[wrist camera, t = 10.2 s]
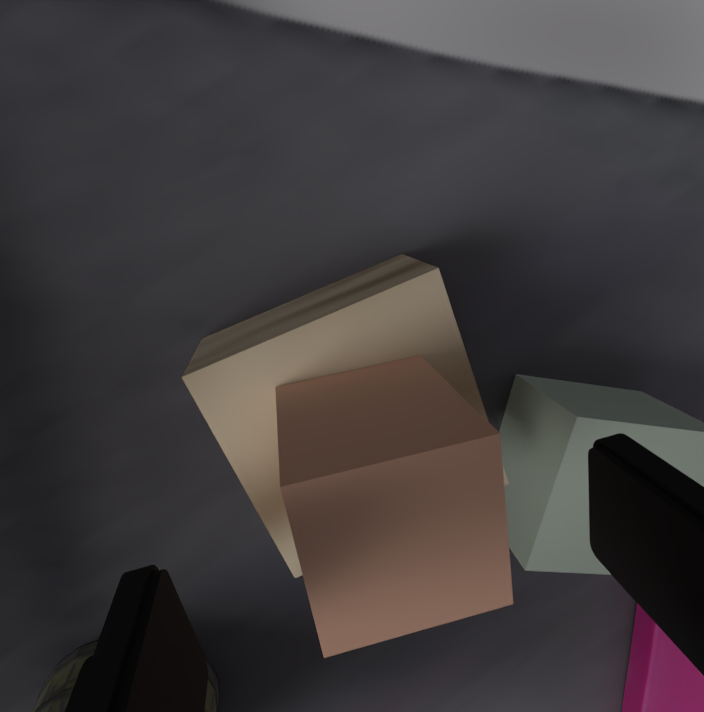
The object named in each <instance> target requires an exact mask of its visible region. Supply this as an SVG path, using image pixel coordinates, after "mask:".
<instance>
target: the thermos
mask: <svg viewBox="0 0 704 712" xmlns="http://www.w3.org/2000/svg"><path fill="white" fill-rule="evenodd" d="M98 641H99V640H98ZM98 641H95V642H92V643H90V644H87V645H84V646H82V647H80V648H78V649H77V650H75V651H74V652H73V653H71V654H70V655H68V656H67V657H66V658H64V659H63V660H62V661H60V662H59V663H58V664H57V665H56V667H55V668H54V670H53V671H52V673H51V674H50V675H49V677H48V678H47V680H46V681H45V683H44V685H43V687H42V689H41V691H40V693H39V697H38V701H37V703H36V705H35V708H34V710H33V712H65V709H66V706H67V704H68V701H69V698H70V696H71V693H72V690H73V688H74V685H75V682H76V680H77V677H78V674H79V672H80V669H81V667H82V665H83V663H84V661H85V660H86V659H87V658H88V657H89V656H92V655H93V654H94V652H95V649H96V646H97V643H98ZM206 662H207V668H208V684H207V693H206V703H205V712H217V711H218V706H219V689H218V679H217V677H216V675H215V673H214V672H213V670H212V668H211V666H210V665H209V663H208V661H207V660H206Z"/></svg>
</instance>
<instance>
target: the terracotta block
mask: <svg viewBox="0 0 704 712" xmlns="http://www.w3.org/2000/svg"><path fill="white" fill-rule="evenodd" d="M275 391H276V412H277V432H278V453H279V474H280V489H281V493H282V496H283V500H284V504H285V508H286V512H287V516H288V520H289V524H290V528H291V532H292V536H293V539H294V543H295V547H296V551H297V555H298V559H299V563H300V567H301V571H302V575H303V579H304V582H305V586H306V590H307V594H308V598H309V602H310V606H311V610H312V614H313V618H314V622H315V625H316V629H317V633H318V637H319V641H320V645H321V649H322V653H323V657H324V658H326V657H329V656H333V655H337V654H340V653H344V652H347V651H351V650H354V649H358V648H361V647H365V646H368V645H372V644H375V643H379V642H382V641H386V640H389V639H393V638H396V637H400V636H403V635H407V634H410V633H414V632H417V631H421V630H424V629H428V628H431V627H435V626H438V625H442V624H445V623H449V622H452V621H456V620H459V619H463V618H466V617H470V616H473V615H477V614H480V613H484V612H488V611H491V610H495V609H498V608H502V607H505V606H509V605H512V604H513V592H512V579H511V566H510V553H509V541H508V528H507V515H506V502H505V489H504V476H503V463H502V450H501V438H500V433H499V432H498V431H497V430H496V429H495V428H494V427H493V426H492V425H491V424H490V423H489V422H488V421H487V420H486V419H485V418H484V417H483V416H482V415H481V414H480V413H479V412H478V411H477V410H476V409H475V408H474V407H473V406H471V405H470V404H469V403H468V402H467V401H466V400H465V399H464V398H463V397H462V396H461V395H460V394H459V393H458V392H457V391H456V390H455V389H454V388H453V387H452V386H451V385H450V384H449V383H448V382H447V381H446V380H445V379H444V378H443V377H442V376H441V375H440V374H439V373H438V372H437V371H436V370H435V369H434V368H433V367H432V366H431V365H430V364H429V363H427V362H426V361H425V360H424V359H423V358H422V357H421V356H420V355H418V356H414V357H409V358H404V359H400V360H395V361H391V362H386V363H382V364H377V365H373V366H368V367H364V368H359V369H355V370H350V371H346V372H341V373H337V374H332V375H328V376H323V377H319V378H314V379H309V380H305V381H300V382H296V383H291V384H287V385H282V386H278V387H275Z"/></svg>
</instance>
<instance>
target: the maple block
mask: <svg viewBox="0 0 704 712" xmlns="http://www.w3.org/2000/svg"><path fill="white" fill-rule="evenodd" d="M418 355H420V356H421V357H422V358H423V359H424V360H425V361H426V362H427V363H429V364H430V365H431V366H432V367H433V368H434V369H435V370H436V371H437V372H438V373H439V374H440V375H441V376H442V377H443V378H444V379H445V380H446V381H447V382H448V383H449V384H450V385H451V386H452V387H453V388H454V389H455V390H456V391H457V392H458V393H459V394H460V395H461V396H462V397H463V398H464V399H465V400H466V401H467V402H468V403H469V404H470V405H471V406H473V407H474V408H475V409H476V410H477V411H478V412H479V413H480V414H481V415H482V416H483V417H484V418H485V419H486V420H487V421H488V418H487V415H486V412H485V409H484V406H483V403H482V400H481V396H480V393H479V390H478V387H477V384H476V381H475V378H474V375H473V372H472V369H471V366H470V363H469V360H468V357H467V353H466V350H465V347H464V344H463V341H462V338H461V335H460V332H459V329H458V326H457V323H456V320H455V317H454V314H453V310H452V307H451V304H450V301H449V298H448V295H447V292H446V289H445V286H444V283H443V280H442V277H441V274H440V271H439V268H438V267H435V266H433V265H430V264H427V263H425V262H422V261H419V260H417V259H414V258H412V257H409V256H406V255H404V254H400V255H398V256H395V257H393V258H391V259H388V260H386V261H384V262H381V263H379V264H377V265H374V266H372V267H369V268H367V269H365V270H362V271H360V272H358V273H355V274H353V275H351V276H348V277H346V278H344V279H341V280H339V281H336V282H334V283H332V284H329V285H327V286H325V287H322V288H320V289H318V290H315V291H313V292H311V293H308V294H306V295H303V296H301V297H299V298H296V299H294V300H292V301H289V302H287V303H285V304H282V305H280V306H278V307H275V308H273V309H270V310H268V311H266V312H263V313H261V314H259V315H256V316H254V317H252V318H249V319H247V320H245V321H242V322H240V323H237V324H235V325H233V326H230V327H228V328H226V329H223V330H221V331H219V332H216V333H214V334H212V335H209V336H207V337H205V338H202V340H201V342H200V343H199V345H198V347H197V349H196V351H195V353H194V355H193V357H192V359H191V360H190V362H189V364H188V366H187V368H186V370H185V372H184V374H183V376H182V379H183V381H184V382H185V384H186V386H187V388H188V390H189V391H190V393H191V395H192V397H193V398H194V400H195V402H196V404H197V406H198V407H199V409H200V411H201V413H202V414H203V416H204V418H205V420H206V421H207V423H208V425H209V427H210V429H211V430H212V432H213V434H214V436H215V437H216V439H217V441H218V443H219V445H220V446H221V448H222V450H223V452H224V453H225V455H226V457H227V459H228V461H229V462H230V464H231V466H232V468H233V469H234V471H235V473H236V475H237V476H238V478H239V480H240V482H241V484H242V485H243V487H244V489H245V491H246V492H247V494H248V496H249V498H250V500H251V501H252V503H253V505H254V507H255V508H256V510H257V512H258V514H259V516H260V517H261V519H262V521H263V523H264V524H265V526H266V528H267V530H268V531H269V533H270V535H271V537H272V539H273V540H274V542H275V544H276V546H277V547H278V549H279V551H280V553H281V555H282V556H283V558H284V560H285V562H286V563H287V565H288V567H289V569H290V571H291V572H292V574H293V576H294V578H297V577H299V576H301V575H302V571H301V567H300V563H299V559H298V555H297V551H296V547H295V543H294V539H293V536H292V532H291V528H290V524H289V520H288V516H287V512H286V508H285V504H284V500H283V496H282V493H281V489H280V474H279V453H278V432H277V412H276V391H275V387H278V386H282V385H287V384H291V383H296V382H300V381H305V380H309V379H314V378H319V377H323V376H328V375H332V374H337V373H341V372H346V371H350V370H355V369H359V368H364V367H368V366H373V365H377V364H382V363H386V362H391V361H395V360H400V359H404V358H409V357H414V356H418ZM488 422H489V421H488ZM503 476H504V486H506V485H508V484H509V482H508V479H507V476H506V473H505V470H504V467H503Z"/></svg>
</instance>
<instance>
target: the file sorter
mask: <svg viewBox="0 0 704 712" xmlns="http://www.w3.org/2000/svg"><path fill="white" fill-rule="evenodd" d="M622 712H704V676H703V675H702V673H701V672H700V671H699V670H698V669H697V668H696V667H695V666H694V665H693V664H692V663H691V661H690V660H689V659H688V658H687V657H686V656H685V655H684V654H683V653H682V652H681V650H680V649H679V648H678V647H677V646H676V645H675V644H674V643H673V642H672V641H671V639H670V638H669V637H668V636H667V635H666V634H665V633H664V632H663V631H662V630H661V628H660V627H659V626H658V625H657V624H656V623H655V622H654V621H653V620H652V619H651V617H650V616H649V615H648V614H647V613H646V612H645V611H644V610H643V609H642V608H641V606H640V605H639V604H638V603H637V608H636V615H635V622H634V629H633V636H632V643H631V650H630V657H629V664H628V671H627V677H626V684H625V690H624V698H623V706H622Z"/></svg>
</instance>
